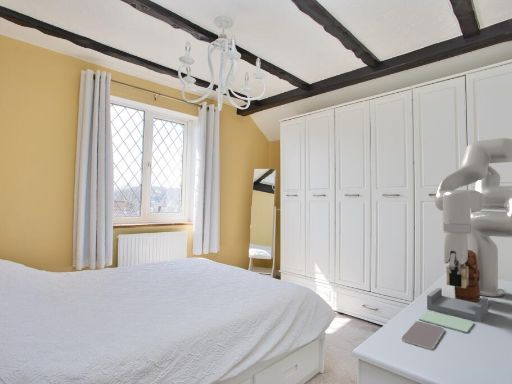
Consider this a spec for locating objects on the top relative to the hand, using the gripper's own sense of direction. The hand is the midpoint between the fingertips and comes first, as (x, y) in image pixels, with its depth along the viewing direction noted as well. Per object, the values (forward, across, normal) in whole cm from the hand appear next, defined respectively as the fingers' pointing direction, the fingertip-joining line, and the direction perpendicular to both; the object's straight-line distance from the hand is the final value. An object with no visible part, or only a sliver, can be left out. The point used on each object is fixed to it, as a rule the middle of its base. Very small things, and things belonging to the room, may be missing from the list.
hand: (457, 283), depth 97 cm
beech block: (0, 0, 0) cm, 0 cm away
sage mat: (+8, +14, 0) cm, 16 cm away
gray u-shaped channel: (+9, +1, 0) cm, 9 cm away
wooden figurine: (+9, -14, 0) cm, 17 cm away
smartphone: (+8, +28, -2) cm, 29 cm away
